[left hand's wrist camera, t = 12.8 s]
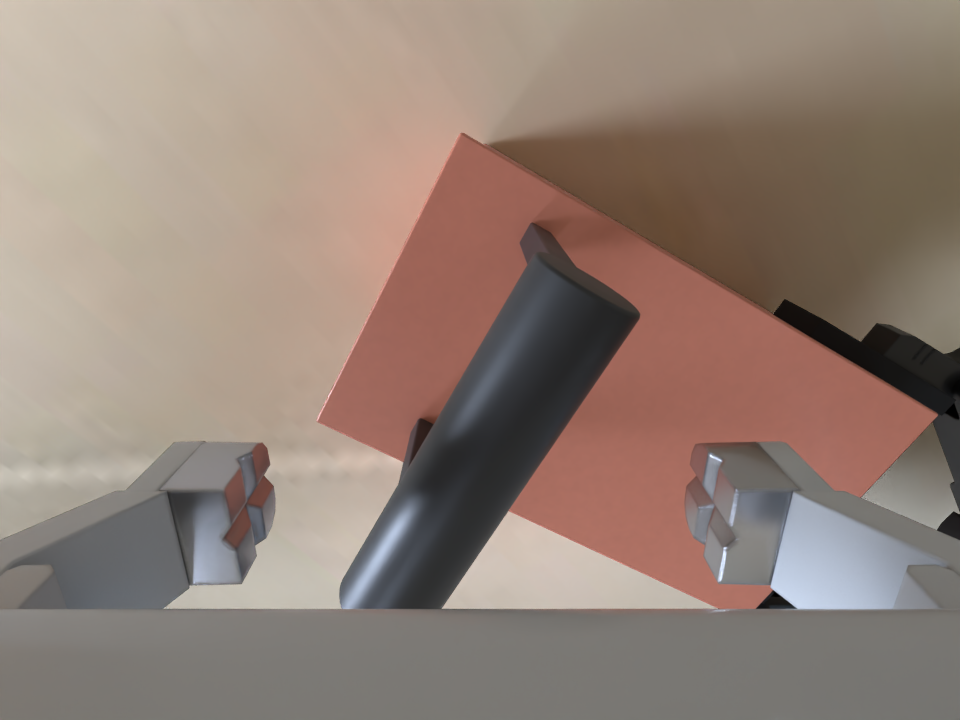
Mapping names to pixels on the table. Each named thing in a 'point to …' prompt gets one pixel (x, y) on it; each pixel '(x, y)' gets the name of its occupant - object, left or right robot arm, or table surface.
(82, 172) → the table surface
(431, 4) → the table surface
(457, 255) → the lid
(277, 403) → the table surface
